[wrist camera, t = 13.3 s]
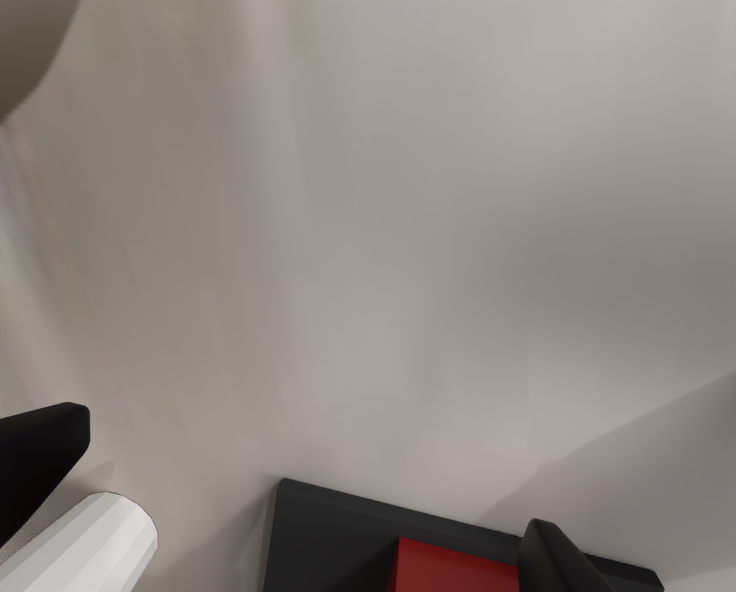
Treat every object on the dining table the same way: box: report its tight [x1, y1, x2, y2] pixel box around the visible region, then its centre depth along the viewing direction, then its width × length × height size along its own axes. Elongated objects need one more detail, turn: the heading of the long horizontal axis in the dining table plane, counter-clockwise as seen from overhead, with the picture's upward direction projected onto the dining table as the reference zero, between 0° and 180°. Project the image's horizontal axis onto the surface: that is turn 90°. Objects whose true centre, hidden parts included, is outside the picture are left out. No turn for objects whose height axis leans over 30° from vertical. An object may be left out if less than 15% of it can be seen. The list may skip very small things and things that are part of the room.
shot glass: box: [0, 492, 158, 592], centre depth 23 cm, size 7×7×7 cm
